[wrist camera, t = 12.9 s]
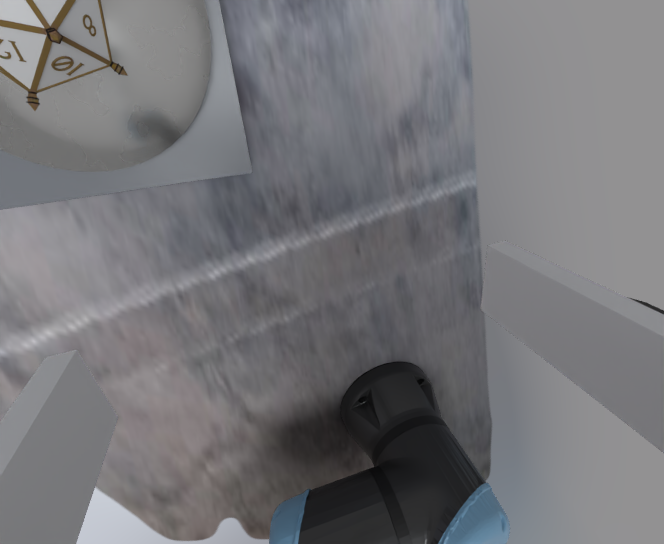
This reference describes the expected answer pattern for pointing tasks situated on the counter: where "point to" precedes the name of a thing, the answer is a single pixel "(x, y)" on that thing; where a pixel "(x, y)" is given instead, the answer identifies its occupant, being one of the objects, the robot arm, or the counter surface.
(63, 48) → the game die
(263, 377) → the counter surface
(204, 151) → the scale
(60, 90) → the pan
